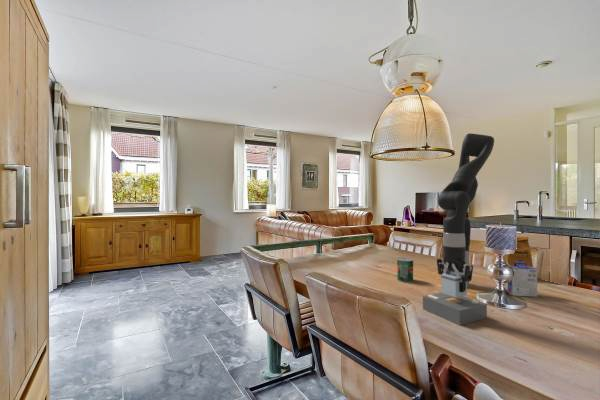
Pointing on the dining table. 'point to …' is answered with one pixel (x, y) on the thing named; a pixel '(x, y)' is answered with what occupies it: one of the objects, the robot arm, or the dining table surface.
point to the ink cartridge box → (523, 280)
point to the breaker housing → (455, 308)
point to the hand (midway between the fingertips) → (454, 289)
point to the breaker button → (453, 300)
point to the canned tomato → (405, 269)
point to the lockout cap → (451, 285)
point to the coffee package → (520, 253)
